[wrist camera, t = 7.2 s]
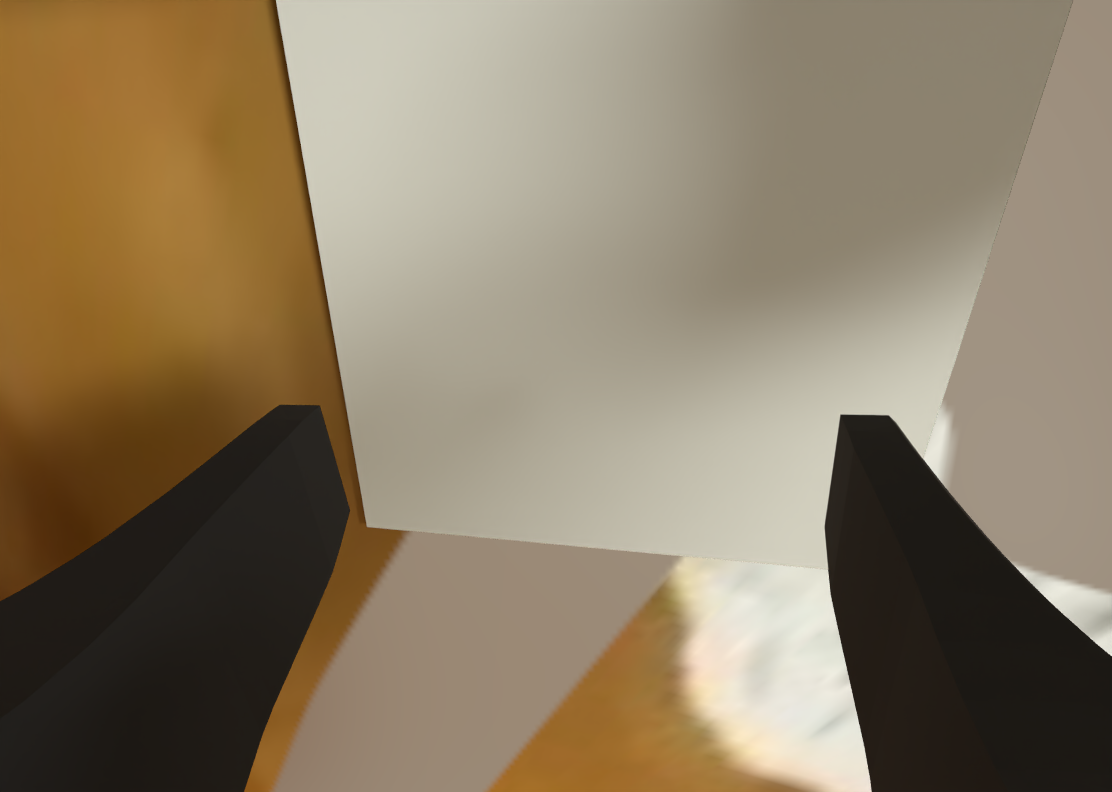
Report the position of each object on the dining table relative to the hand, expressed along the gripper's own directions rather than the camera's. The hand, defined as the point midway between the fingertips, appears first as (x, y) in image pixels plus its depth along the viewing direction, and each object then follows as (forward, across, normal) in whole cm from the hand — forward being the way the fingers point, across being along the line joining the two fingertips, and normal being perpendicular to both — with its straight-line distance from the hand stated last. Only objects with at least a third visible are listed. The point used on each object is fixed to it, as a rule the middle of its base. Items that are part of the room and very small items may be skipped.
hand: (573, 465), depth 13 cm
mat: (+10, 0, +3) cm, 11 cm away
